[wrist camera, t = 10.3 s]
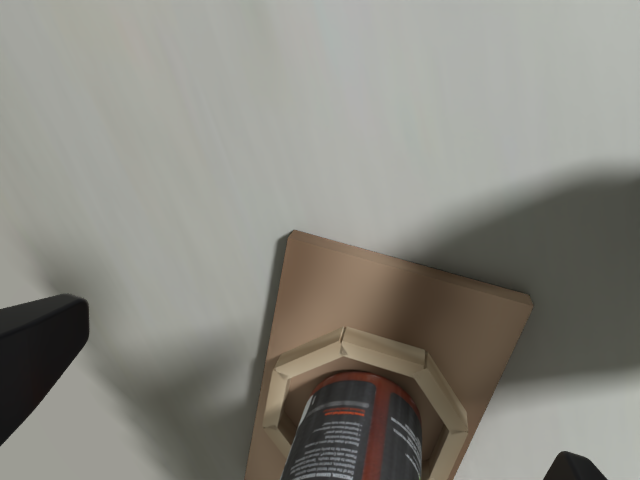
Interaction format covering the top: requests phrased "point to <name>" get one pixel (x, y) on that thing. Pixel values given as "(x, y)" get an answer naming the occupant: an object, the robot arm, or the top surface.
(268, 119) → the top surface
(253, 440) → the wooden board with rim
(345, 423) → the supplement bottle
